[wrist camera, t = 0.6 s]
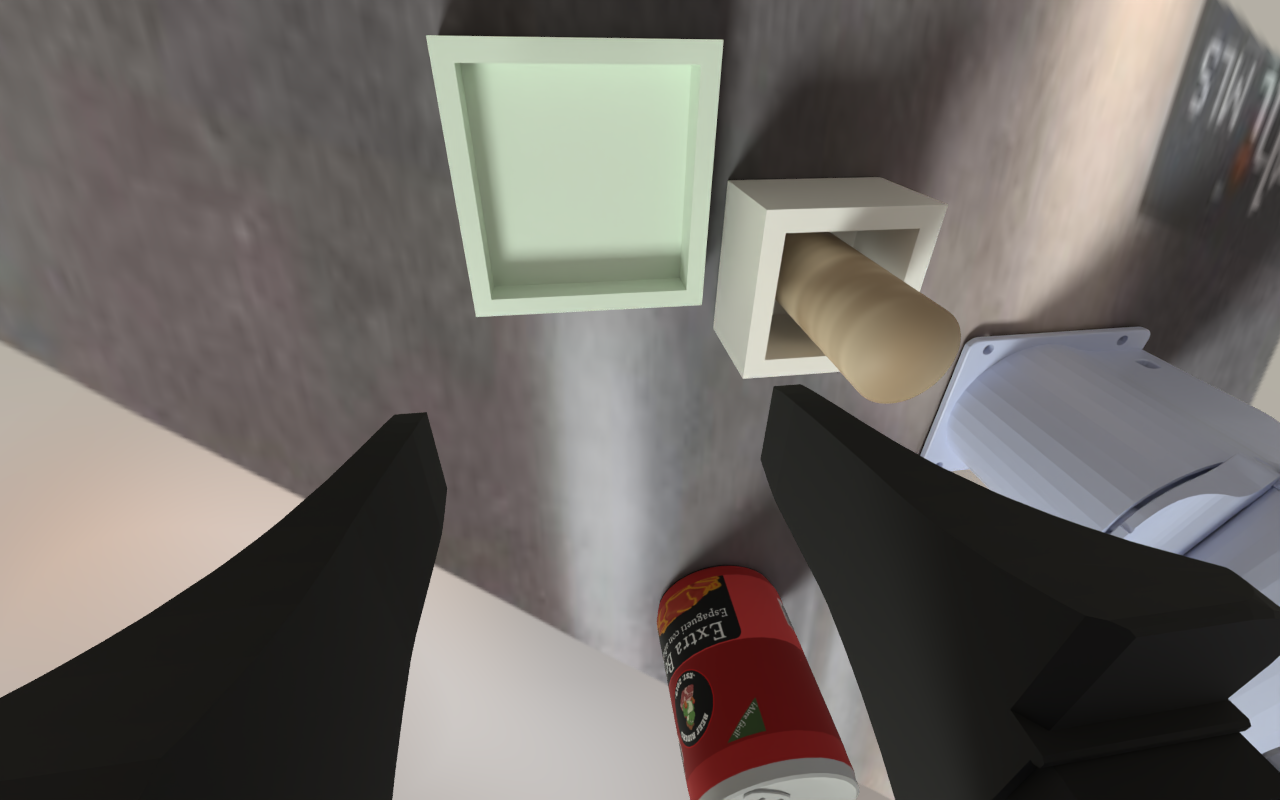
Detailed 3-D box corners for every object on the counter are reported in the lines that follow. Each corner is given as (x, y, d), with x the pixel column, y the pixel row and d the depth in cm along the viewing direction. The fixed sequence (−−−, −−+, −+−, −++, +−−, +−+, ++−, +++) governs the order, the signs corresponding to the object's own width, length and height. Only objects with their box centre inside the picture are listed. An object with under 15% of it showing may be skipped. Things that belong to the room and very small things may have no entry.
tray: (707, 39, 16) (723, 39, 15) (690, 286, 21) (701, 304, 19) (437, 35, 15) (426, 35, 14) (481, 296, 20) (476, 316, 18)
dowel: (842, 220, 20) (977, 302, 13) (825, 296, 21) (938, 399, 15) (764, 223, 19) (868, 308, 13) (754, 299, 21) (841, 407, 15)
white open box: (880, 177, 19) (948, 204, 16) (844, 320, 23) (894, 367, 19) (727, 180, 19) (766, 210, 15) (713, 328, 22) (743, 378, 19)
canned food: (699, 547, 30) (766, 767, 21) (801, 580, 33) (897, 782, 24) (629, 625, 33) (661, 844, 24) (728, 647, 36) (789, 848, 27)
